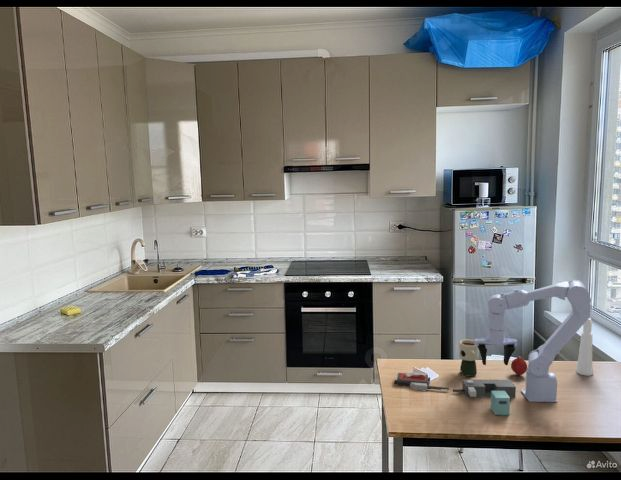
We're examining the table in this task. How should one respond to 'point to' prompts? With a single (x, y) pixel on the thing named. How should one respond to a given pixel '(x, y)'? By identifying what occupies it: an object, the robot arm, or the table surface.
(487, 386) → the power strip
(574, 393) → the table surface
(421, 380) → the walkie-talkie
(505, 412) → the charger
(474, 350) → the character mug
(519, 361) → the onion
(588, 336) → the cosmetic bottle
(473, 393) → the block
